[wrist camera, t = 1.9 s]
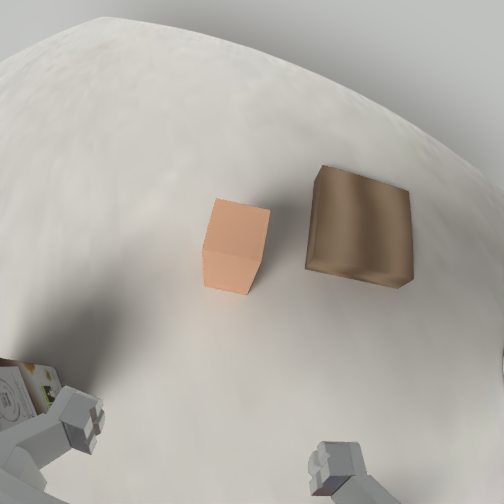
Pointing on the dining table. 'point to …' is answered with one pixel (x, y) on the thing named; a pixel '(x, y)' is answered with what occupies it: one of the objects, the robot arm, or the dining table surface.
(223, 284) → the pillar block
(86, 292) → the dining table surface
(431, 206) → the dining table surface
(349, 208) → the base block
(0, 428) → the coffee box
